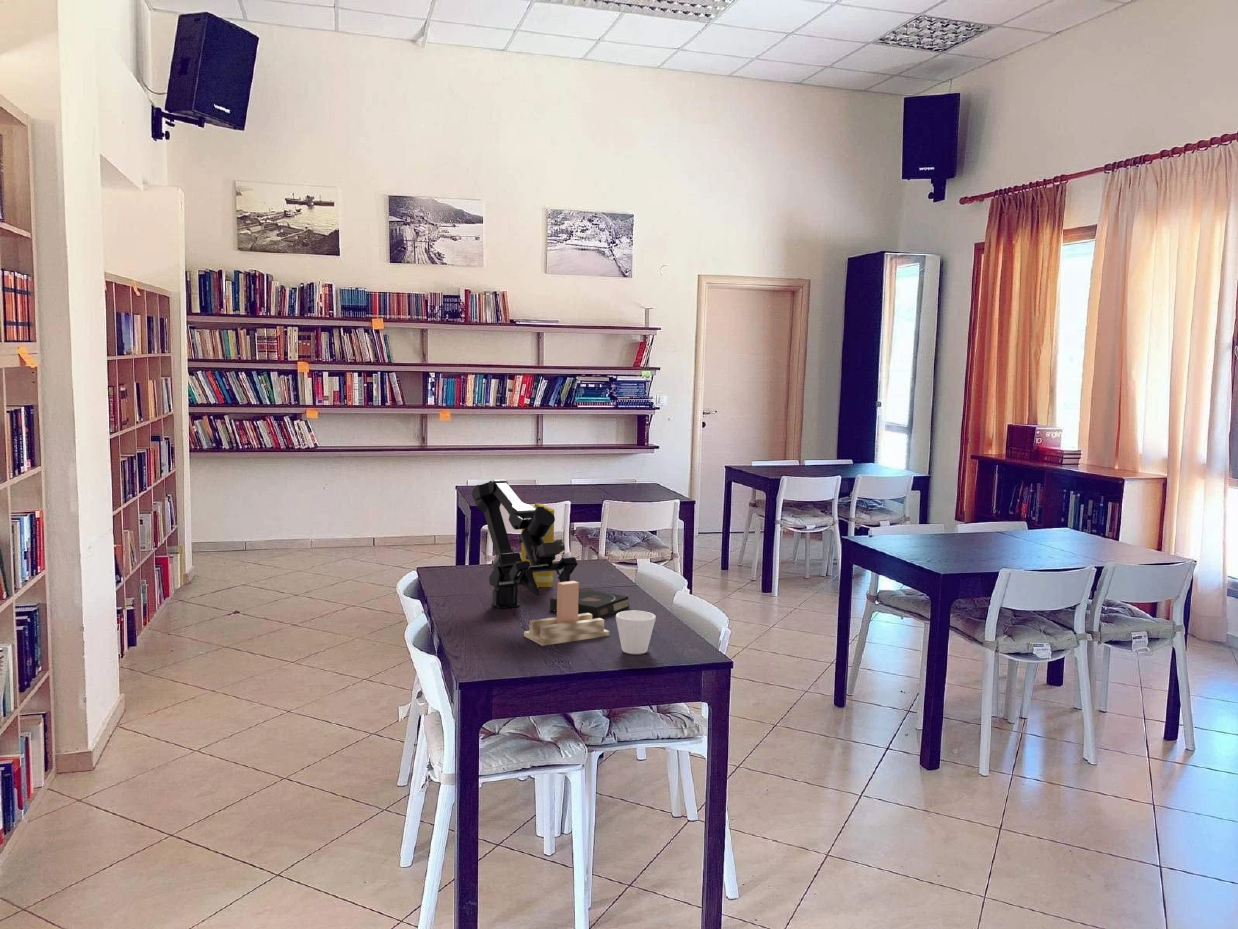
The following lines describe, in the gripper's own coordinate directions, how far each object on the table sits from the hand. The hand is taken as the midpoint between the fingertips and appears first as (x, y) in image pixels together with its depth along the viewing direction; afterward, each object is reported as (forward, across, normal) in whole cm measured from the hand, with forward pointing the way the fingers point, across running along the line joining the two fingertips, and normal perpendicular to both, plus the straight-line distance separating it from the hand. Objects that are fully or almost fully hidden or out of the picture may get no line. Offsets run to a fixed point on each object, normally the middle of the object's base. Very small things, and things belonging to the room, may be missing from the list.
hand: (553, 594), depth 249 cm
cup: (+26, +8, -13) cm, 30 cm away
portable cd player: (-2, +20, +17) cm, 26 cm away
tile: (+11, 0, 0) cm, 11 cm away
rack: (+12, 0, +1) cm, 12 cm away
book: (-29, +23, +44) cm, 57 cm away
